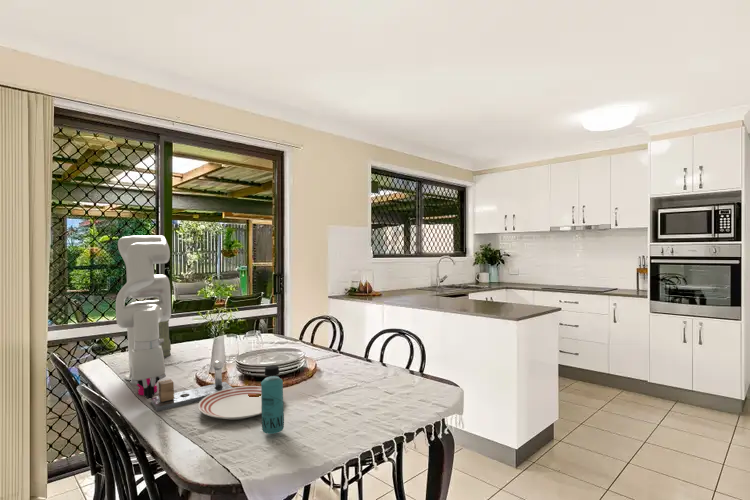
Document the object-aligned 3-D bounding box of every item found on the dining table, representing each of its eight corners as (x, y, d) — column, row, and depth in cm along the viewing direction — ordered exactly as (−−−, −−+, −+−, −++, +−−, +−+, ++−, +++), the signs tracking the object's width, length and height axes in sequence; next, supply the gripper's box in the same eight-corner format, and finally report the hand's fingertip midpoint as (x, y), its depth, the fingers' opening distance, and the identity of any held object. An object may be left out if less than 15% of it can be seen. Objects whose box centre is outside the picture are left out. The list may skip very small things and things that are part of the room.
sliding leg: (159, 398, 150) (158, 381, 150) (171, 395, 153) (170, 379, 153) (161, 401, 147) (160, 384, 147) (174, 399, 150) (173, 382, 150)
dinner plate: (283, 390, 162) (282, 381, 161) (283, 421, 135) (283, 410, 135) (205, 397, 156) (205, 388, 156) (190, 431, 129) (189, 420, 129)
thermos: (177, 353, 216) (174, 284, 214) (157, 359, 205) (154, 286, 204) (164, 351, 219) (161, 283, 218) (144, 358, 208) (141, 286, 207)
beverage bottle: (263, 429, 128) (261, 363, 128) (286, 428, 129) (284, 362, 128) (259, 440, 122) (257, 370, 121) (283, 438, 123) (281, 369, 122)
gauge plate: (151, 402, 152) (149, 370, 151) (225, 385, 168) (224, 356, 167) (157, 411, 144) (155, 377, 143) (234, 392, 160) (233, 361, 159)
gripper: (168, 338, 154) (170, 389, 154) (120, 346, 144) (122, 400, 145) (173, 342, 148) (175, 395, 148) (123, 350, 139) (125, 406, 139)
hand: (149, 397), depth 147 cm, fingers closed
